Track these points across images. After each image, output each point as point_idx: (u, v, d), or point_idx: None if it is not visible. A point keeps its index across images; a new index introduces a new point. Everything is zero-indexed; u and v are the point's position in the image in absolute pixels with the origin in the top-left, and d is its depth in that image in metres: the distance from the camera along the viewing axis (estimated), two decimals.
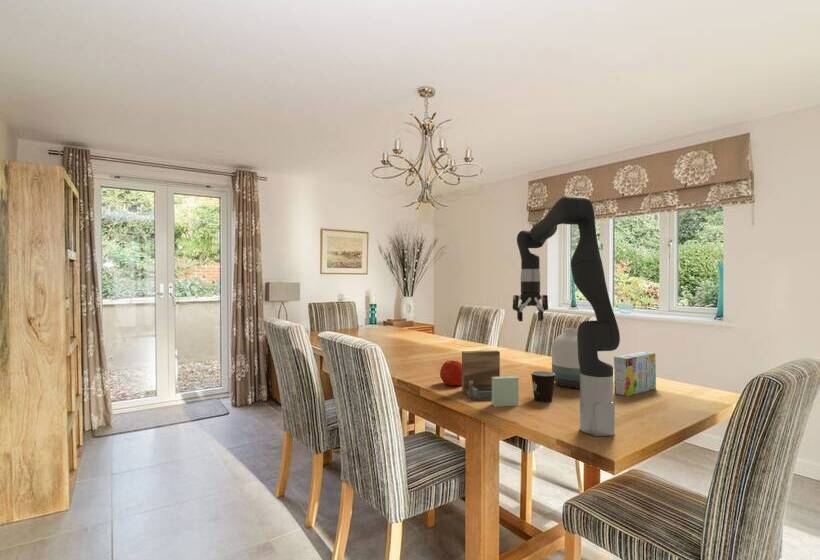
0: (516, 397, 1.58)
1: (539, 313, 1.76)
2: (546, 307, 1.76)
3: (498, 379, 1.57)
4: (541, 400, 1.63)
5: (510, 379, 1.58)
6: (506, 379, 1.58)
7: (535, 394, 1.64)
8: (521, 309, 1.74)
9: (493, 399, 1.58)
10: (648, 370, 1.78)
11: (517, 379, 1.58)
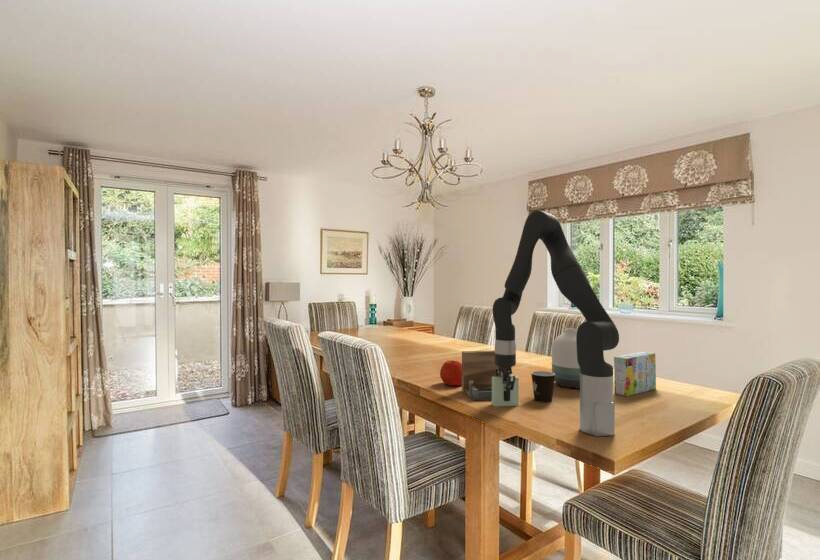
0: (516, 397, 1.58)
1: None
2: None
3: (498, 379, 1.57)
4: (541, 400, 1.63)
5: None
6: None
7: (535, 394, 1.64)
8: None
9: (493, 399, 1.58)
10: (648, 370, 1.78)
11: (517, 379, 1.58)
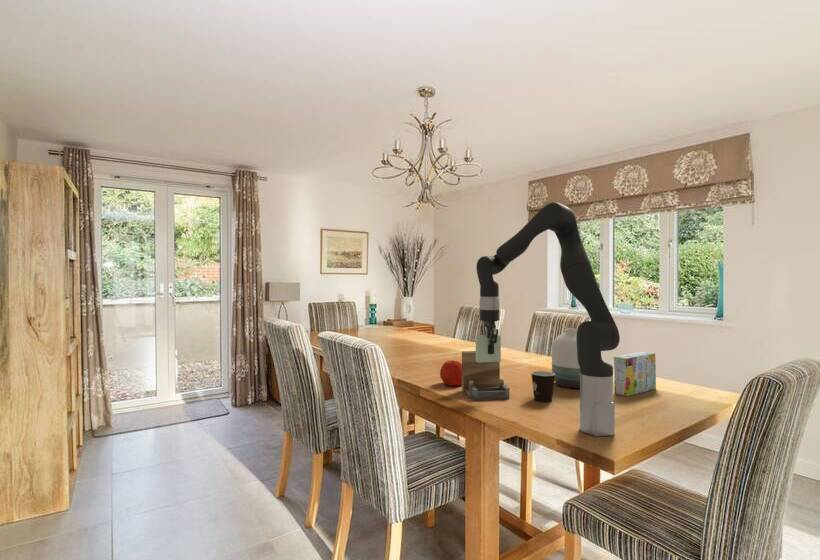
0: (498, 354, 1.68)
1: None
2: None
3: (482, 337, 1.67)
4: (541, 400, 1.63)
5: None
6: None
7: (535, 394, 1.64)
8: None
9: (477, 356, 1.67)
10: (648, 370, 1.78)
11: (499, 337, 1.68)
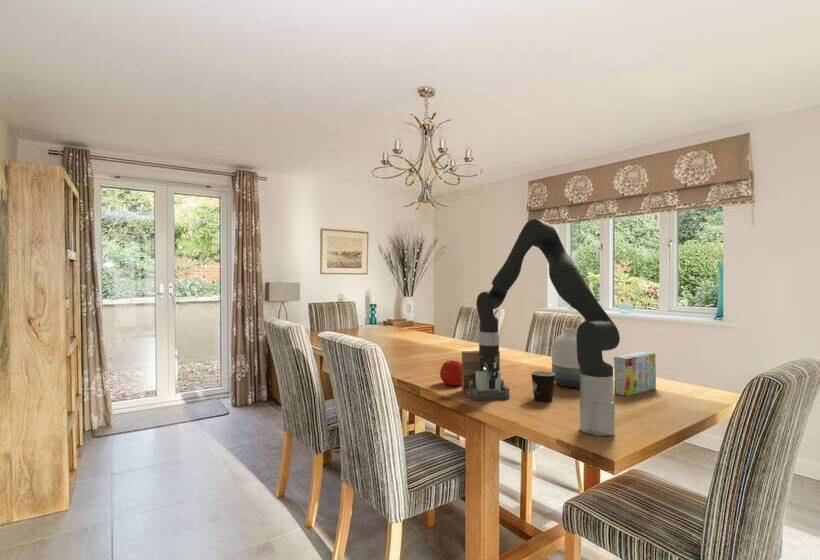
0: (498, 390, 1.68)
1: None
2: None
3: (482, 373, 1.67)
4: (541, 400, 1.63)
5: None
6: None
7: (535, 394, 1.64)
8: None
9: None
10: (648, 370, 1.78)
11: (499, 373, 1.68)
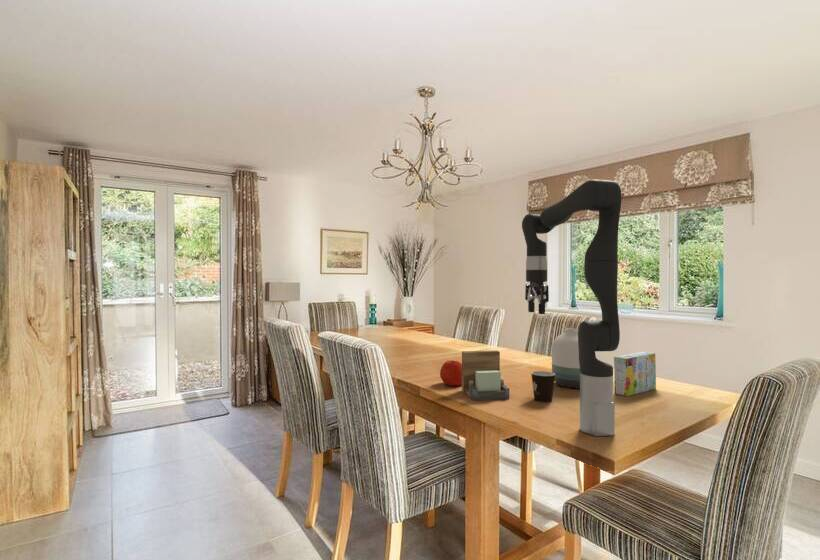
0: (498, 390, 1.68)
1: (532, 304, 1.65)
2: None
3: (481, 373, 1.67)
4: (541, 400, 1.63)
5: (492, 373, 1.68)
6: (489, 373, 1.67)
7: (535, 394, 1.64)
8: None
9: None
10: (648, 370, 1.78)
11: (499, 373, 1.68)
